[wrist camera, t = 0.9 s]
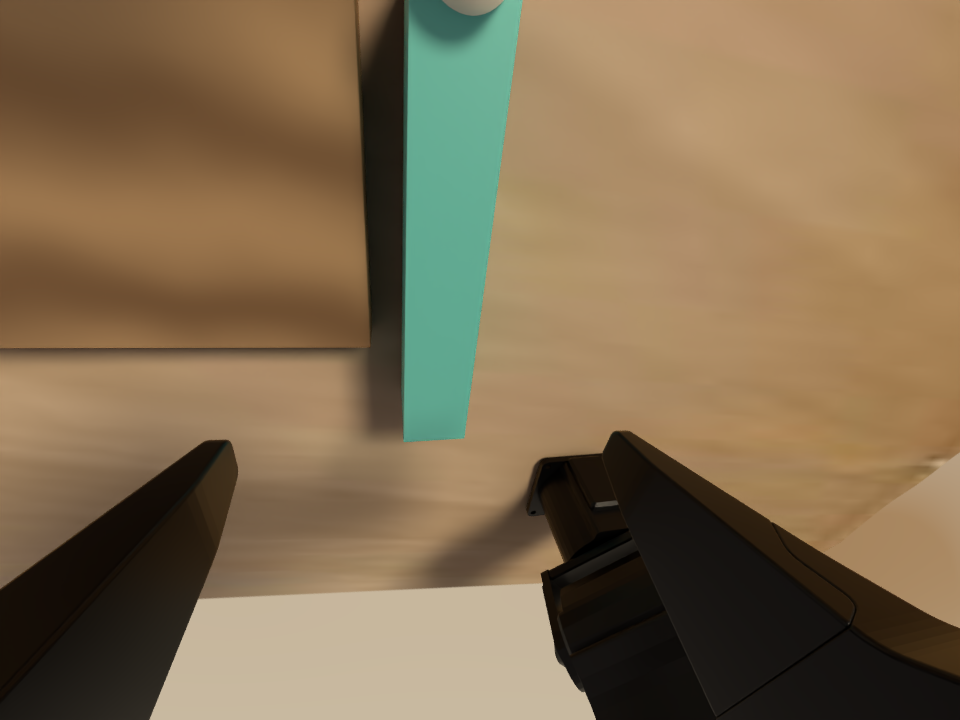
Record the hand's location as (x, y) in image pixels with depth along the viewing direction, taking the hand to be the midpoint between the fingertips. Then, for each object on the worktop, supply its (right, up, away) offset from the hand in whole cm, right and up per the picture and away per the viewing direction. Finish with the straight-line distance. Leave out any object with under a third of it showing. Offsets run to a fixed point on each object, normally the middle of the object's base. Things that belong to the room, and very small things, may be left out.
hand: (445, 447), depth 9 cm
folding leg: (-1, +8, +8) cm, 11 cm away
